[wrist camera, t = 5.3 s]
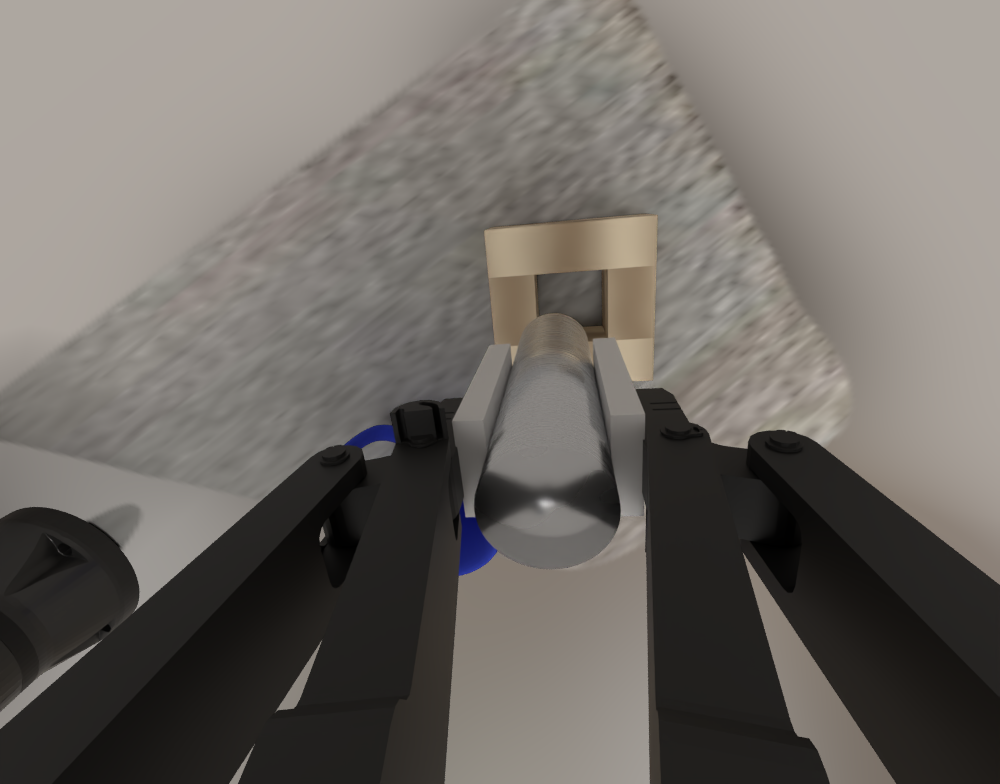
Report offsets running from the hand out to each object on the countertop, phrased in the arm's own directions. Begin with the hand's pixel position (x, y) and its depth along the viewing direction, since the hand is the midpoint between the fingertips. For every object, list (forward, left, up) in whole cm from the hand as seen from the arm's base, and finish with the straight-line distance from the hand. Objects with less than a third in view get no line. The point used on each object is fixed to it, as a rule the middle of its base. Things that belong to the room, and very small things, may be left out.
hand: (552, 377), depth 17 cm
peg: (0, 0, -4) cm, 4 cm away
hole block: (+1, 0, -17) cm, 17 cm away
